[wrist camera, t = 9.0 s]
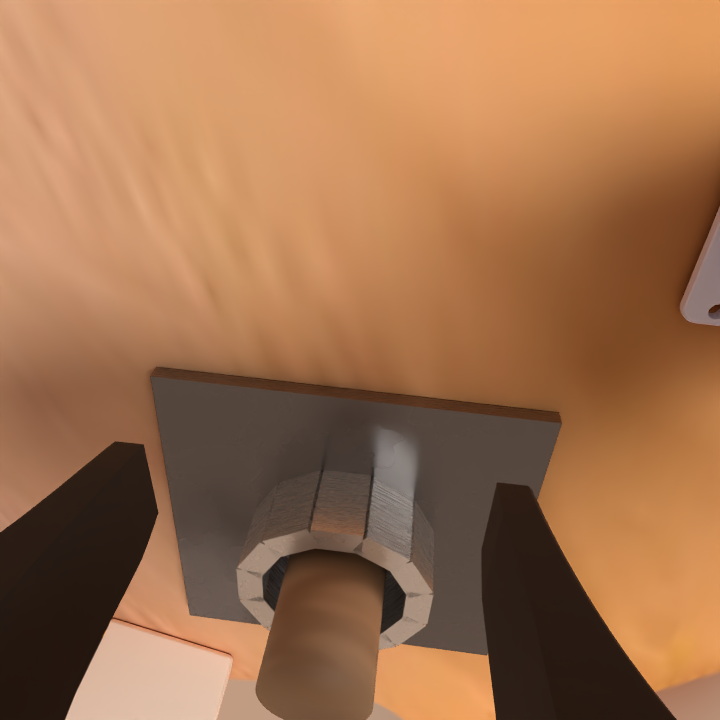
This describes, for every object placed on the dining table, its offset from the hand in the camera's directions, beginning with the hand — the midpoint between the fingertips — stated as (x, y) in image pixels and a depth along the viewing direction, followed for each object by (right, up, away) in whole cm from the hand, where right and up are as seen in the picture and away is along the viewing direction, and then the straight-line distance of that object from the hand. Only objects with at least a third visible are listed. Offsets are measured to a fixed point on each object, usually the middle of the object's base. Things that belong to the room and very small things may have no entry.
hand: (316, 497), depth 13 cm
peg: (0, -5, +14) cm, 15 cm away
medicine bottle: (-10, -15, +23) cm, 29 cm away
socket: (0, -4, +14) cm, 15 cm away
